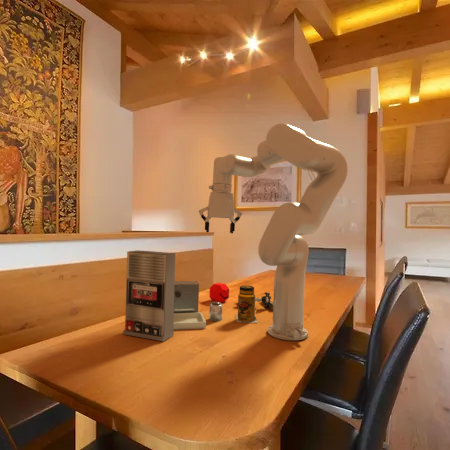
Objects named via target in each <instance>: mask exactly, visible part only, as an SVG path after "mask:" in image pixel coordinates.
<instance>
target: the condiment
mask: <svg viewBox="0 0 450 450" xmlns="http://www.w3.org/2000/svg"><path fill="white" fill-rule="evenodd" d="M237 296H238V297H237V298H238V299H237V314H236V315H235V320H236V323H243V324H247V323H248V324H249V323H251V324H252V323H259V322H258V319H257V317H256V315H255V313H256V312H255V310H256V302H255V297H256V294H255V287H254V286H253V285H241V286H239V293H238V295H237Z"/></svg>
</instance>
